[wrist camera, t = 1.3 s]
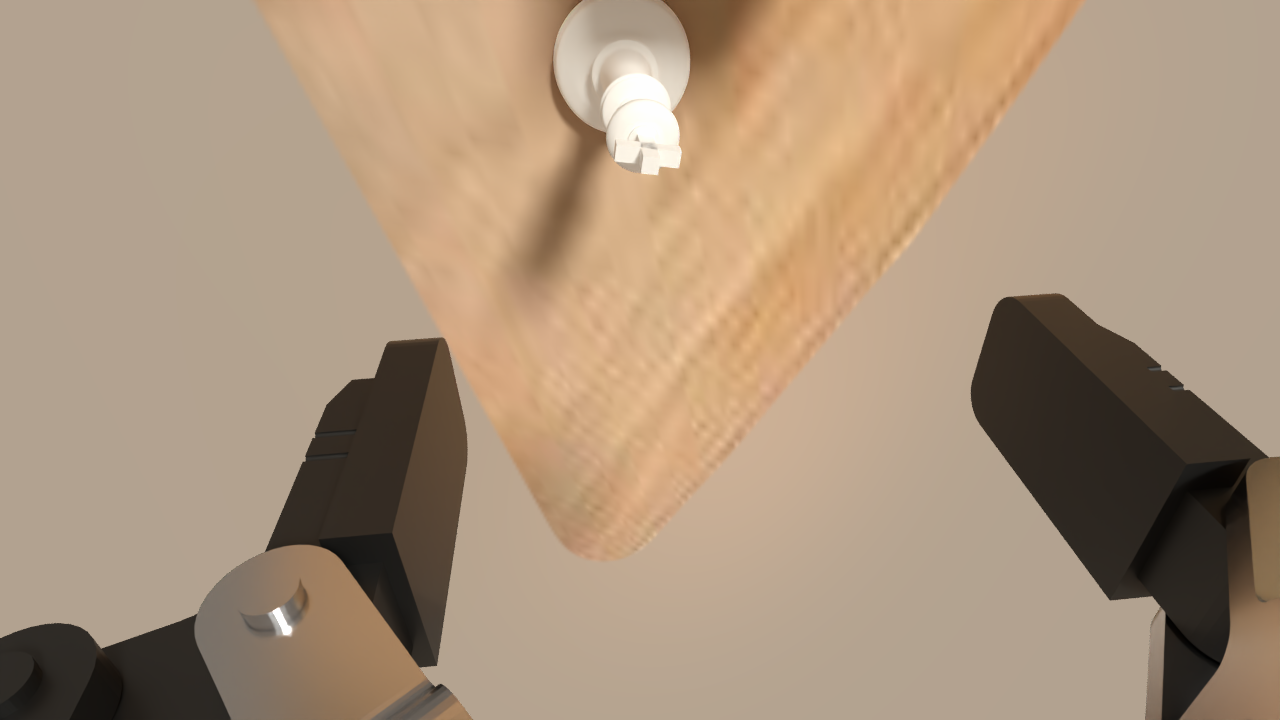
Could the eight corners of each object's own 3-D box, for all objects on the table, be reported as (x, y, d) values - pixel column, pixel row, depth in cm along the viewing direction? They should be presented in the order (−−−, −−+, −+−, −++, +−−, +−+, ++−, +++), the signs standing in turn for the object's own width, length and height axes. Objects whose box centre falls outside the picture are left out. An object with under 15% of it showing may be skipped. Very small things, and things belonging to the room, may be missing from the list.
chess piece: (558, -23, 24) (559, 48, 16) (701, -3, 25) (770, 75, 17) (548, 123, 27) (544, 246, 19) (677, 137, 28) (725, 261, 20)
